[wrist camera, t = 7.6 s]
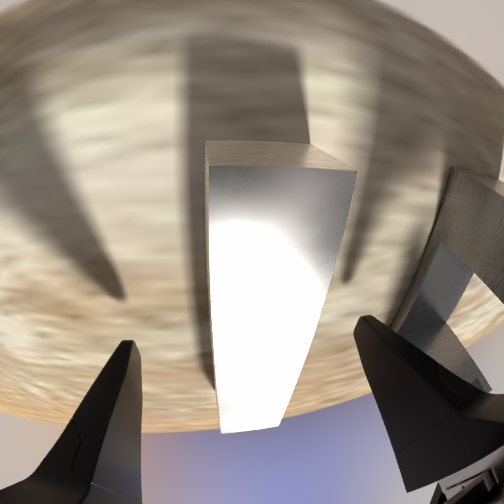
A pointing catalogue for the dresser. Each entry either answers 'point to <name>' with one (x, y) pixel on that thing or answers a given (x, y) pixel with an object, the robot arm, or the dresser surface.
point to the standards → (456, 269)
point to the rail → (268, 267)
